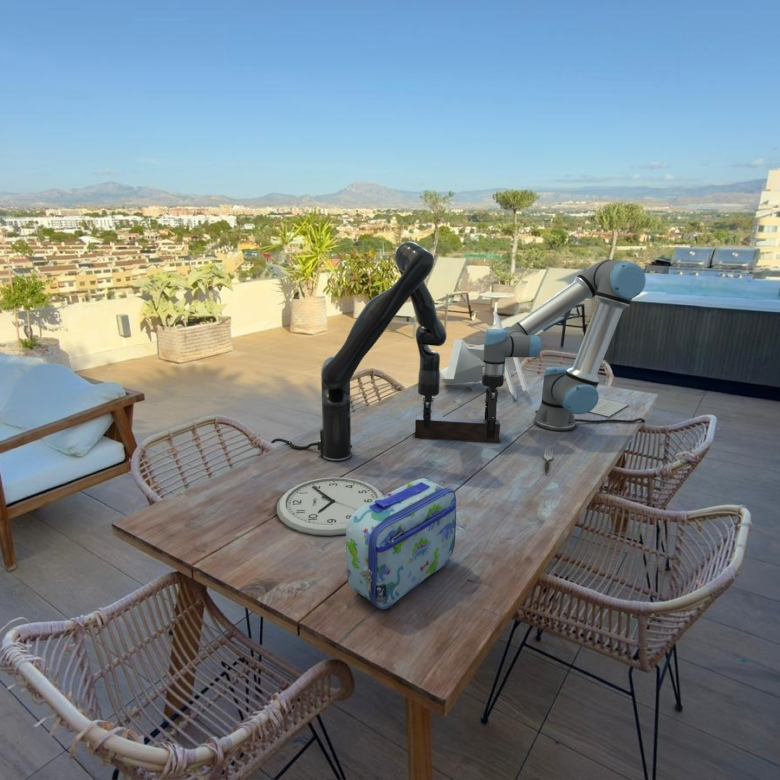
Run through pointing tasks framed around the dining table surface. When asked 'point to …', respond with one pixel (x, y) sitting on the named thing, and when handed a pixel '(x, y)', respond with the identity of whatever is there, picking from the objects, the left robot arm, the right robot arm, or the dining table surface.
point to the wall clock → (324, 504)
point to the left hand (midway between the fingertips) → (427, 423)
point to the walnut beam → (455, 429)
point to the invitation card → (607, 407)
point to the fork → (547, 459)
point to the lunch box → (400, 540)
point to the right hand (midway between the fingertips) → (488, 430)
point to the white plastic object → (476, 365)
